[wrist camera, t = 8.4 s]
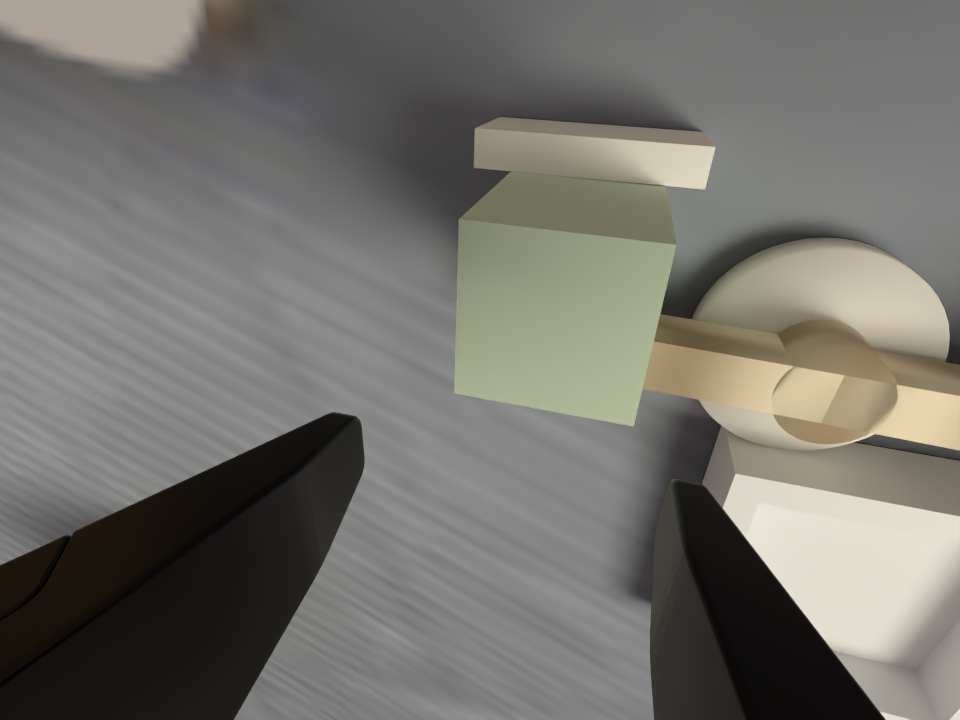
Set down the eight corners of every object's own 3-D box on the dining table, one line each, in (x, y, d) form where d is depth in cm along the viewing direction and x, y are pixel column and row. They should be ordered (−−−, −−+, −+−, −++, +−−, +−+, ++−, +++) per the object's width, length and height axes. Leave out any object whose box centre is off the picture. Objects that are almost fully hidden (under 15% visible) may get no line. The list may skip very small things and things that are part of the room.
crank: (518, 352, 19) (468, 475, 13) (528, 271, 17) (477, 372, 12) (1277, 496, 15) (1648, 753, 9) (1377, 408, 13) (1890, 655, 8)
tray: (1079, 481, 17) (1153, 553, 15) (924, 672, 23) (959, 748, 21) (723, 419, 20) (735, 473, 17) (660, 608, 25) (662, 670, 23)
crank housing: (1028, 156, 14) (1114, 178, 11) (874, 446, 19) (911, 507, 16) (500, 117, 17) (474, 128, 14) (485, 378, 21) (465, 422, 19)
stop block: (661, 165, 16) (676, 244, 9) (635, 288, 18) (633, 426, 11) (530, 153, 17) (459, 218, 10) (520, 272, 19) (454, 393, 12)
